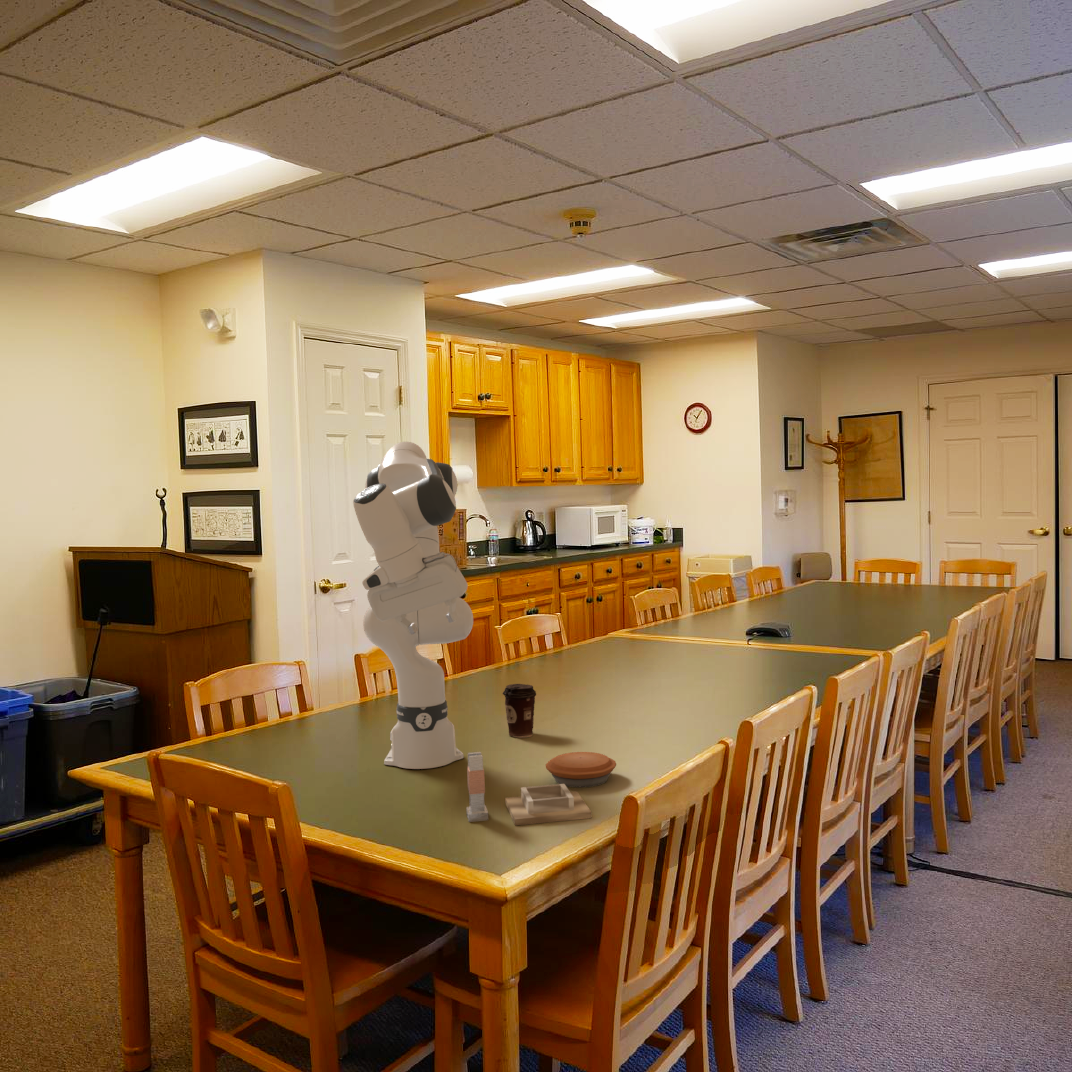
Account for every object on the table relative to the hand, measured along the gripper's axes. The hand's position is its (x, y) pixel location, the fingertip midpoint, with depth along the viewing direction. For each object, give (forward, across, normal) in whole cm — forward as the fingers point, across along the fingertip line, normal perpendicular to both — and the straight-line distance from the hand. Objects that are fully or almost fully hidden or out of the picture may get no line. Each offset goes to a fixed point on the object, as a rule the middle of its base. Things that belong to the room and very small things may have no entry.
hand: (433, 626), depth 188 cm
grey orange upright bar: (+36, +3, +11) cm, 38 cm away
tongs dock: (+42, -8, +5) cm, 43 cm away
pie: (+48, -8, -15) cm, 51 cm away
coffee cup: (+50, +18, -47) cm, 71 cm away
